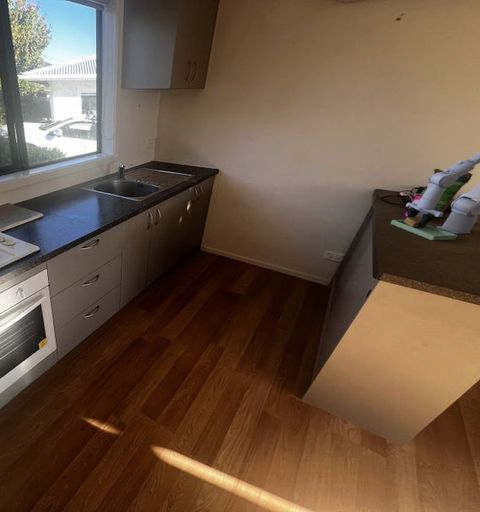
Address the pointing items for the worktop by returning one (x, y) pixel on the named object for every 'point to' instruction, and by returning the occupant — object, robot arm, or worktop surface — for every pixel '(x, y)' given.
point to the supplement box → (417, 203)
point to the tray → (426, 231)
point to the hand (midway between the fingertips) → (414, 225)
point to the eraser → (413, 222)
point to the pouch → (449, 191)
